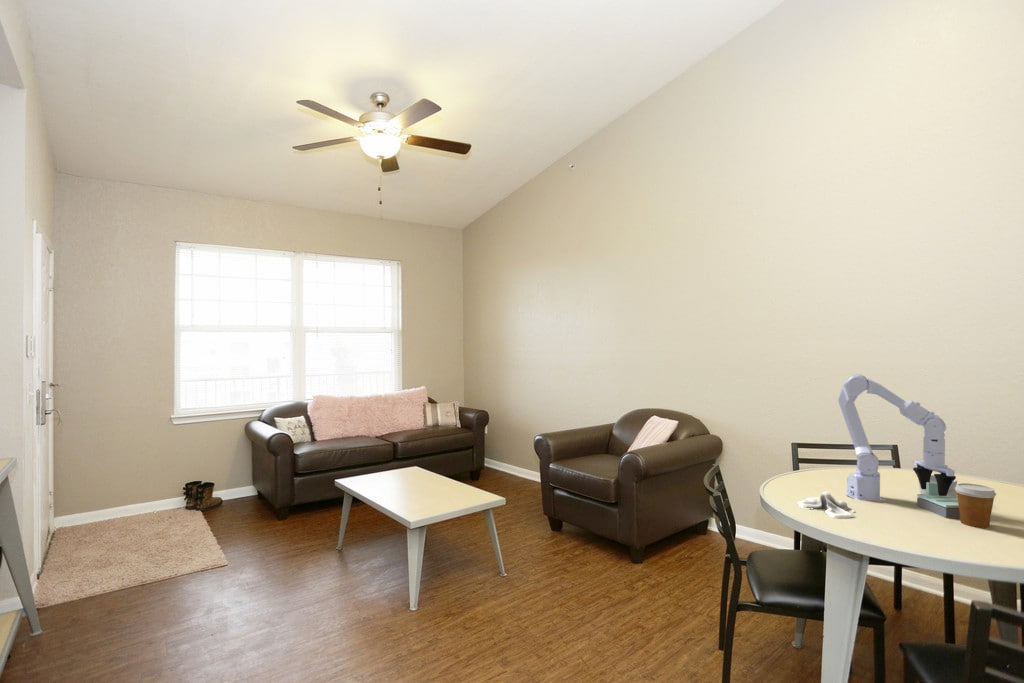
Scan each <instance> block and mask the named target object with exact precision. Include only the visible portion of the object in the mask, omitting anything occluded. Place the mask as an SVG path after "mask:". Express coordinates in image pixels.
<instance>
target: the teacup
mask: <svg viewBox="0 0 1024 683" xmlns="http://www.w3.org/2000/svg"><path fill="white" fill-rule="evenodd" d="M930 482H937V481H936V478H935V476H934V474H931V477H930ZM957 484H958V479H957V478H956V479H955V480H954V481H953V482H952V484H951V485H950V488H949V490H948V493H947V495H950V496H953V497H957V492H956V490H955V487H956V485H957ZM918 489H919V494H926V489H921V486H920V483H919V482H918Z"/></svg>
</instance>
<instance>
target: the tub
mask: <svg viewBox="0 0 1024 683" xmlns="http://www.w3.org/2000/svg"><path fill="white" fill-rule="evenodd" d="M916 497H917V496H916ZM916 503H917V504H916V506H917V507H918V508H921V509H923V510H926V511H928V512H930V513H933V514H935V515H937V516H939V517H943V518H945V519H960V512H959V508H946V507H943V506H940V505H938V504H935V503H933V502H930V501H928V500H925V499H922V498H920V497H917V498H916Z"/></svg>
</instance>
